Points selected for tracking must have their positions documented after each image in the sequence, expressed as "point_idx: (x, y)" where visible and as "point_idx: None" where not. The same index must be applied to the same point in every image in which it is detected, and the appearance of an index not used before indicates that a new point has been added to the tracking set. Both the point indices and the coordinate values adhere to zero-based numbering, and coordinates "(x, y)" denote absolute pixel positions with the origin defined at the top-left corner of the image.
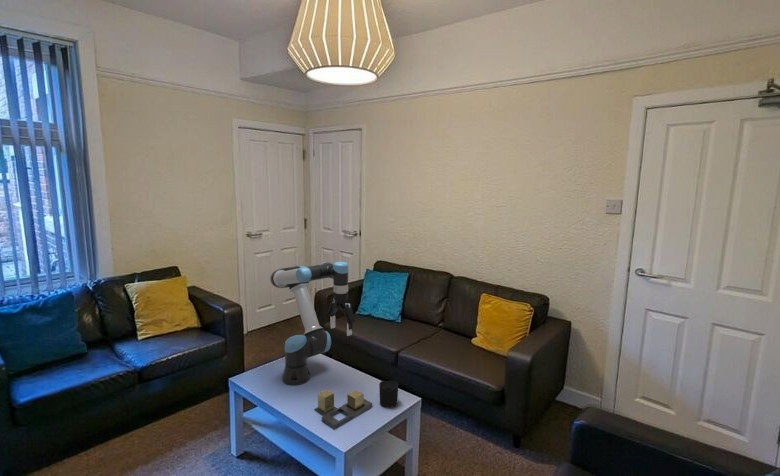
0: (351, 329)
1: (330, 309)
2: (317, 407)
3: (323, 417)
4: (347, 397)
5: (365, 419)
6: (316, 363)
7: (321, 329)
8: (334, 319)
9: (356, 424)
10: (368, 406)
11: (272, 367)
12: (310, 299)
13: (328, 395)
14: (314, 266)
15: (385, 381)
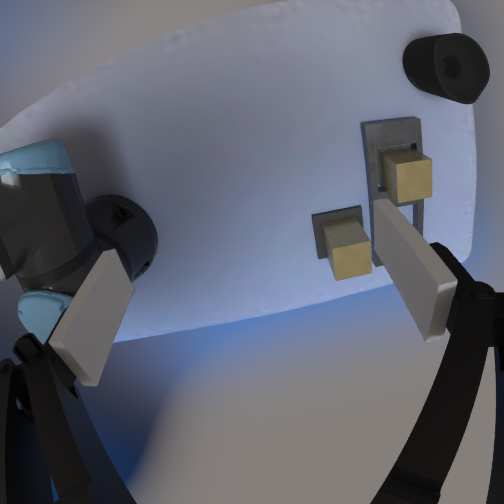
0: (412, 232)
1: (42, 451)
2: (318, 250)
3: (380, 264)
4: (393, 198)
5: (441, 169)
6: None
7: None
8: (85, 318)
9: (439, 199)
10: (419, 135)
11: None
12: None
13: (369, 260)
14: None
15: (435, 53)
